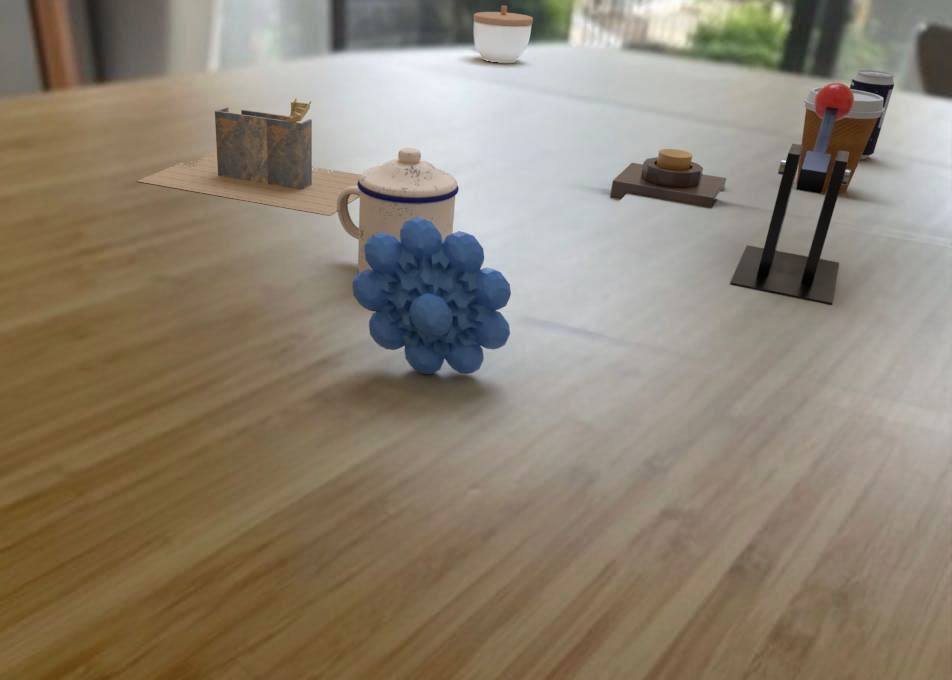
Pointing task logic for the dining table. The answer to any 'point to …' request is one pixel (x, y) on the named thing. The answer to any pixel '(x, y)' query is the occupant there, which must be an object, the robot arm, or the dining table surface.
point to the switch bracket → (792, 270)
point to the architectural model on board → (262, 163)
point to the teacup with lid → (399, 199)
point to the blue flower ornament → (433, 297)
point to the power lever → (824, 134)
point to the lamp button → (674, 159)
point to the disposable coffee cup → (842, 131)
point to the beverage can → (881, 86)
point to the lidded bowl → (501, 35)
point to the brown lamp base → (668, 183)
